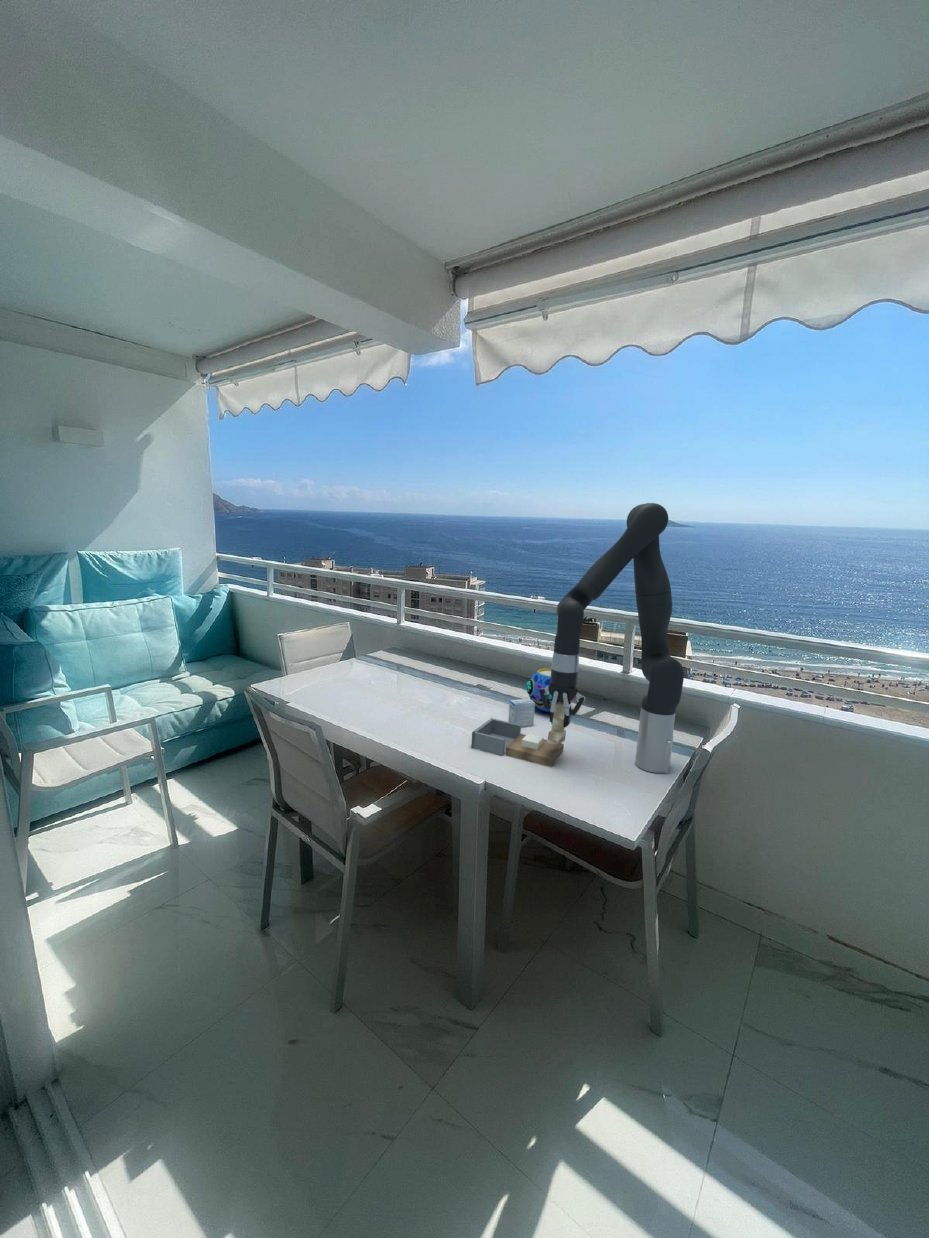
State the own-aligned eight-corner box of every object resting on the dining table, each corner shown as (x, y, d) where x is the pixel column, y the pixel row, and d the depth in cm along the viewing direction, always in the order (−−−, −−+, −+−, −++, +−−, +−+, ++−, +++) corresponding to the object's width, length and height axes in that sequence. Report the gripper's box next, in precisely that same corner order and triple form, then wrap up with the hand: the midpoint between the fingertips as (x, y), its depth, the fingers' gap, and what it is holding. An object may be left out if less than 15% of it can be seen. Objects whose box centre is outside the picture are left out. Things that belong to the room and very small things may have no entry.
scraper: (564, 740, 142) (570, 703, 143) (557, 744, 135) (563, 705, 135) (554, 738, 144) (560, 701, 144) (547, 742, 137) (552, 703, 137)
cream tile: (542, 743, 147) (543, 737, 146) (537, 749, 142) (537, 743, 142) (527, 740, 149) (527, 733, 149) (521, 745, 144) (521, 739, 144)
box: (520, 739, 155) (521, 724, 154) (502, 755, 143) (503, 740, 142) (490, 732, 160) (491, 718, 159) (471, 747, 148) (472, 732, 147)
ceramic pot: (517, 709, 183) (519, 670, 180) (544, 699, 196) (547, 663, 193) (555, 722, 171) (559, 682, 168) (582, 711, 183) (585, 673, 181)
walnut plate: (563, 751, 148) (563, 743, 147) (551, 767, 137) (551, 758, 137) (520, 741, 154) (520, 733, 154) (505, 755, 143) (506, 747, 143)
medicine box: (527, 721, 171) (529, 698, 170) (533, 726, 167) (535, 702, 166) (507, 723, 168) (509, 699, 167) (513, 728, 164) (515, 704, 163)
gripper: (536, 666, 138) (532, 723, 140) (585, 675, 131) (580, 735, 134) (545, 661, 144) (540, 716, 147) (592, 669, 138) (586, 726, 141)
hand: (559, 724), depth 140 cm, fingers closed on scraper, 3 cm apart
